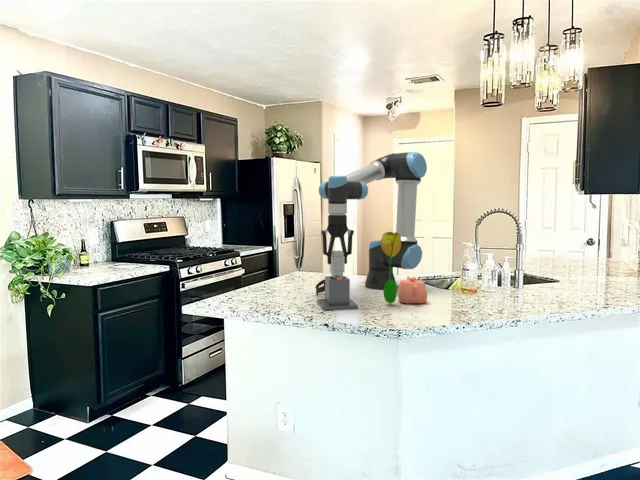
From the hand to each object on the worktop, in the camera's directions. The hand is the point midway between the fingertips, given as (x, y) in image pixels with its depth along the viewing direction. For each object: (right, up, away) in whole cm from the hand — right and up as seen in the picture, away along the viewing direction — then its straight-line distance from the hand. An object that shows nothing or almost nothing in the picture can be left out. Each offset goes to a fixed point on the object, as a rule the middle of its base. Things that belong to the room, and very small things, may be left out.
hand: (337, 271), depth 195 cm
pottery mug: (-4, -12, +23) cm, 26 cm away
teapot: (+32, -13, +9) cm, 36 cm away
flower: (+22, -14, +3) cm, 26 cm away
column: (0, -12, +1) cm, 12 cm away
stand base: (0, -14, +1) cm, 14 cm away
